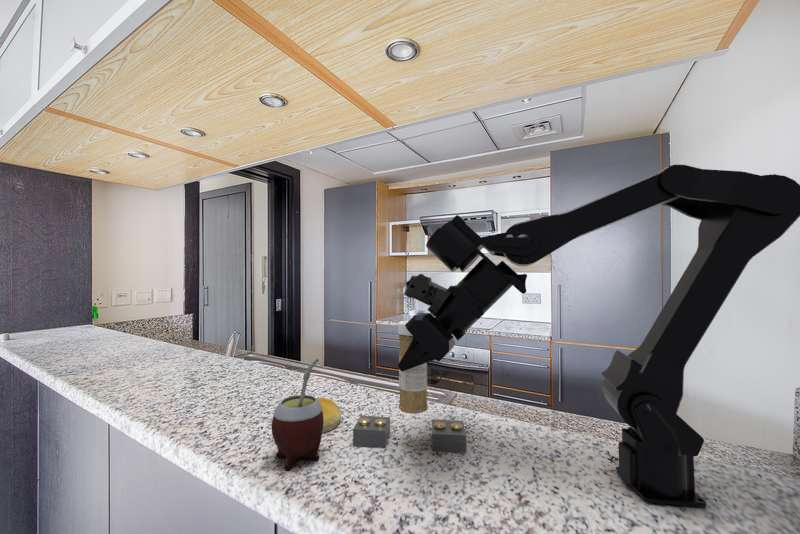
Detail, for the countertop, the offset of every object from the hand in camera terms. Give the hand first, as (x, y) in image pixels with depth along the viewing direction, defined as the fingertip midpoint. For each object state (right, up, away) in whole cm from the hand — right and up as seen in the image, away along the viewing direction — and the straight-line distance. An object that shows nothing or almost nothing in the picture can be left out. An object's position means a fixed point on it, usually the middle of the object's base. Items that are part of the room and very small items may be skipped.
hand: (404, 365), depth 50 cm
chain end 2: (+7, -12, 0) cm, 14 cm away
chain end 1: (-5, -12, +1) cm, 13 cm away
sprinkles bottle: (+1, -7, -1) cm, 7 cm away
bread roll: (-16, -13, +7) cm, 21 cm away
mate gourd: (-15, -12, -5) cm, 20 cm away
